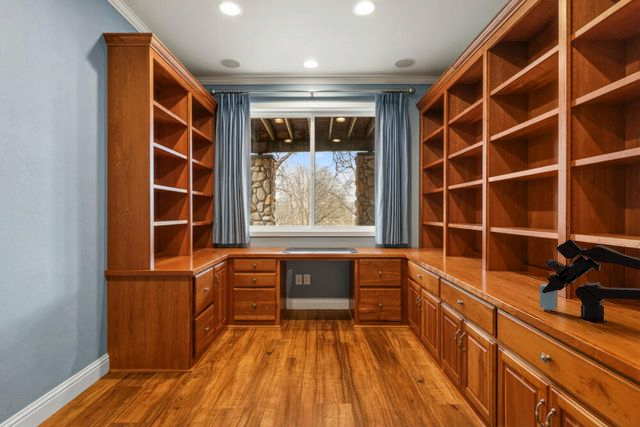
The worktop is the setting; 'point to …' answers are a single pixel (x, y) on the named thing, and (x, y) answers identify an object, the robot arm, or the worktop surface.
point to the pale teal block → (548, 298)
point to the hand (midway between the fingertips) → (544, 291)
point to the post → (548, 310)
